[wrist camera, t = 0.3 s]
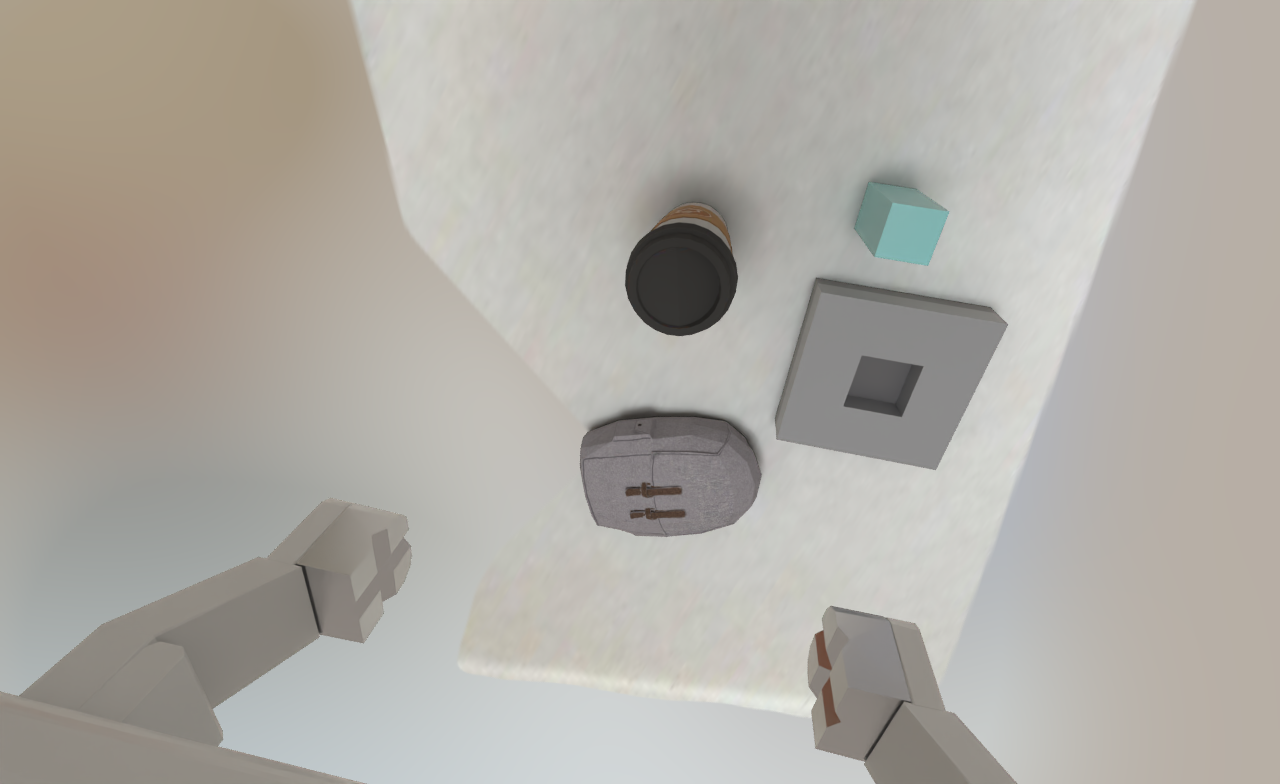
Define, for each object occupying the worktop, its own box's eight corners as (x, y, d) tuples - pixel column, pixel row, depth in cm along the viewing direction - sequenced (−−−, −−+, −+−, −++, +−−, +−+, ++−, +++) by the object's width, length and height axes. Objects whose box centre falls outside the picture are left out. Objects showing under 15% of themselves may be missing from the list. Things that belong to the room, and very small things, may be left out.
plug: (868, 181, 48) (892, 202, 41) (916, 189, 48) (949, 211, 40) (854, 228, 50) (874, 256, 43) (899, 235, 50) (928, 265, 42)
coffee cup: (739, 187, 50) (738, 227, 37) (738, 278, 54) (736, 342, 42) (647, 191, 52) (615, 232, 39) (652, 279, 56) (625, 342, 43)
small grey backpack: (603, 508, 72) (764, 506, 68) (588, 557, 65) (766, 558, 61) (579, 407, 65) (757, 398, 61) (559, 449, 58) (759, 441, 54)
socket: (816, 278, 53) (821, 292, 50) (990, 307, 52) (1008, 324, 49) (774, 418, 61) (776, 439, 58) (924, 447, 60) (935, 469, 57)
